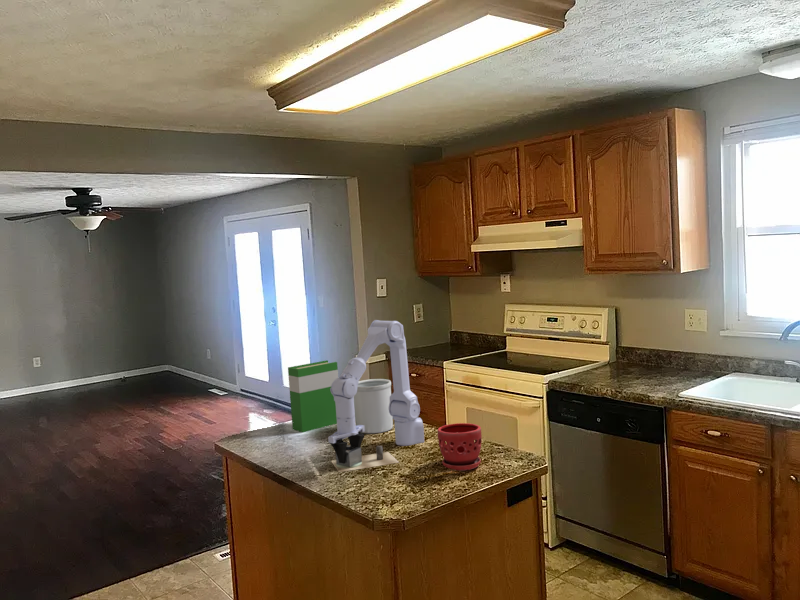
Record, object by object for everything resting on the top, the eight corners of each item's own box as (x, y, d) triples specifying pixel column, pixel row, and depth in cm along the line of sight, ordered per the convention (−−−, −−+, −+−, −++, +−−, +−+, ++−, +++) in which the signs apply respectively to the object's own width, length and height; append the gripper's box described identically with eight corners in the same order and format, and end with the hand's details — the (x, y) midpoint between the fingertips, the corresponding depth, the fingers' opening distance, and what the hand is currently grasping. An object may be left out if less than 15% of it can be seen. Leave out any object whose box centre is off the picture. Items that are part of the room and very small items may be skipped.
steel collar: (348, 458, 210) (347, 445, 210) (361, 461, 206) (360, 447, 206) (336, 464, 205) (335, 450, 205) (349, 467, 202) (348, 452, 202)
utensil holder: (346, 430, 249) (343, 384, 248) (376, 421, 259) (373, 377, 258) (372, 436, 238) (368, 388, 237) (402, 427, 248) (399, 381, 247)
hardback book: (330, 419, 266) (326, 360, 265) (341, 422, 261) (337, 362, 259) (292, 429, 255) (287, 367, 254) (302, 432, 250) (297, 369, 248)
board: (388, 454, 216) (387, 438, 216) (399, 465, 205) (398, 448, 204) (331, 463, 210) (329, 446, 210) (339, 475, 199) (337, 457, 199)
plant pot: (491, 464, 201) (489, 425, 200) (463, 476, 191) (461, 435, 191) (459, 456, 210) (456, 419, 209) (430, 467, 201) (428, 429, 200)
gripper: (339, 424, 197) (342, 468, 198) (370, 412, 208) (373, 455, 209) (322, 421, 201) (325, 465, 202) (353, 410, 212) (356, 451, 213)
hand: (348, 459), depth 206 cm, fingers closed on steel collar, 5 cm apart
